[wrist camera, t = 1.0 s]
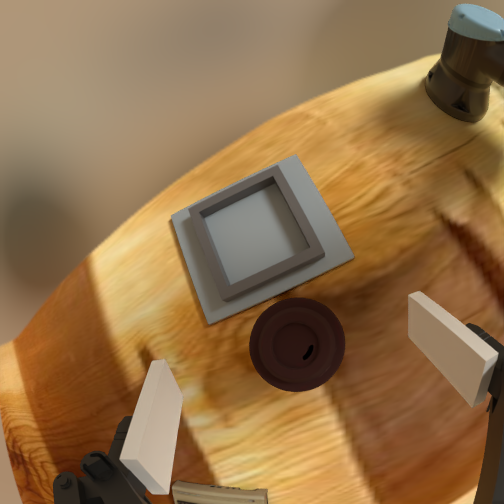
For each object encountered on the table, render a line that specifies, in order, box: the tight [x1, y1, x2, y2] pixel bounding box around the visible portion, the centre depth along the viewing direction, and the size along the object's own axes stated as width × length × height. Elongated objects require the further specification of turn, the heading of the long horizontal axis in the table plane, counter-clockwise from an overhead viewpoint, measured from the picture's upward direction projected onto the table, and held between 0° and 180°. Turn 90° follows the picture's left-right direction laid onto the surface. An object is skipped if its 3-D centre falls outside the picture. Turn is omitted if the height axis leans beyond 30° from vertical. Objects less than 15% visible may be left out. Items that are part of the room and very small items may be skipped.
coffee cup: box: [249, 298, 345, 392], centre depth 35 cm, size 10×10×15 cm
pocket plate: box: [171, 154, 355, 325], centre depth 47 cm, size 24×20×4 cm
